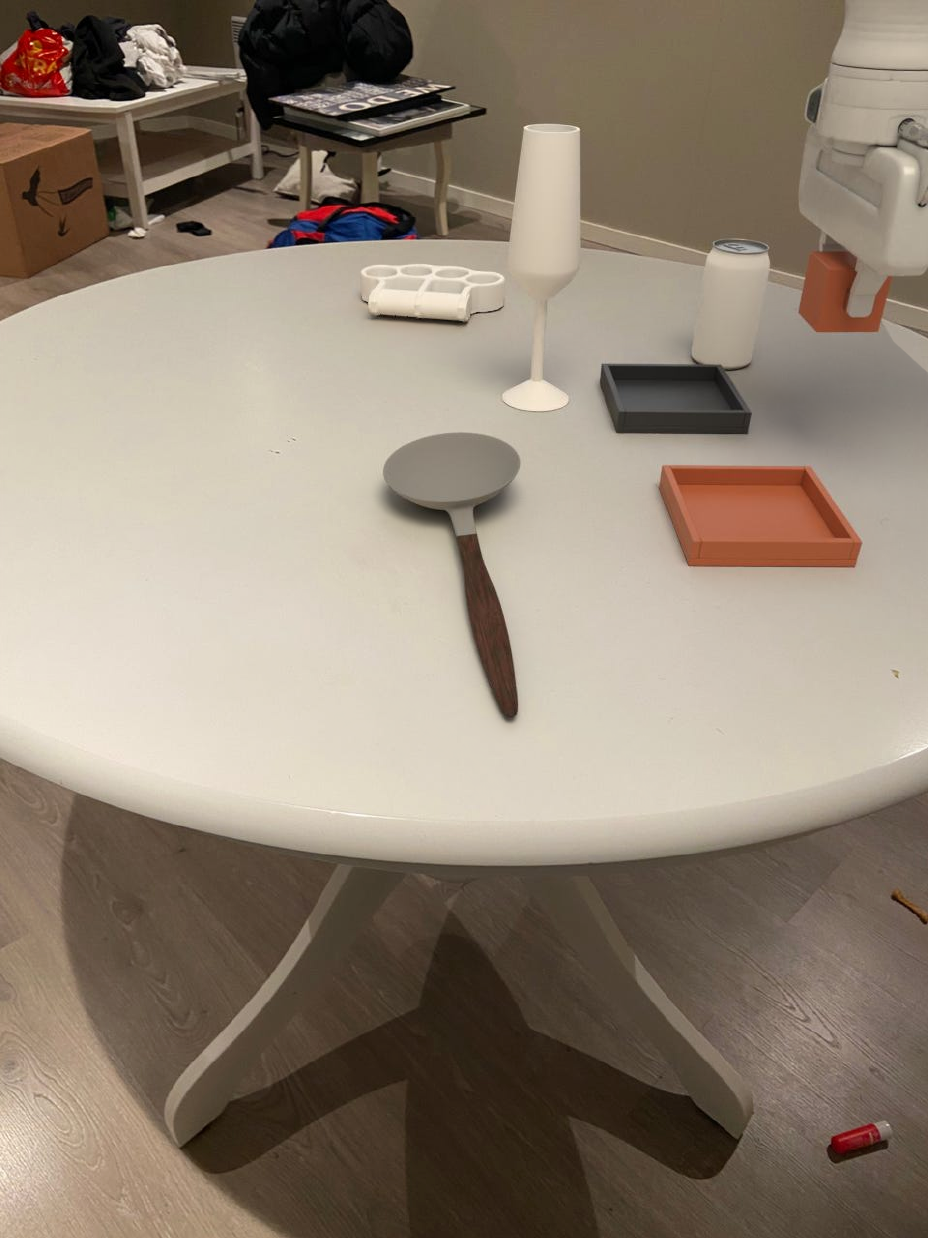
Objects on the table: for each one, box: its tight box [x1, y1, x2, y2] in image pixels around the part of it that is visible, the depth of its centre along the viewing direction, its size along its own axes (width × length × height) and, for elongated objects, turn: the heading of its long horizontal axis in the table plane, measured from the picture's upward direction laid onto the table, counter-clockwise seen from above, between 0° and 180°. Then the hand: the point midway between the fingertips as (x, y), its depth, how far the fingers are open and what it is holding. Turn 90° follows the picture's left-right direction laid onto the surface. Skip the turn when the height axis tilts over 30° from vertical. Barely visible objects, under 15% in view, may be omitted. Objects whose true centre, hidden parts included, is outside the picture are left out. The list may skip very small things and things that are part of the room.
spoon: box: [382, 431, 521, 718], centre depth 68 cm, size 11×33×3 cm, turn 7°
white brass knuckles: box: [359, 263, 506, 323], centre depth 117 cm, size 3×18×15 cm
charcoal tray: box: [599, 362, 753, 435], centre depth 92 cm, size 12×12×2 cm
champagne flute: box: [501, 123, 582, 412], centre depth 88 cm, size 7×7×24 cm
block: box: [797, 250, 893, 333], centre depth 77 cm, size 5×5×5 cm
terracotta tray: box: [658, 464, 863, 568], centre depth 74 cm, size 12×12×2 cm
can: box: [691, 238, 771, 371], centre depth 100 cm, size 6×6×12 cm
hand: (841, 301), depth 77 cm, fingers closed on block, 5 cm apart
